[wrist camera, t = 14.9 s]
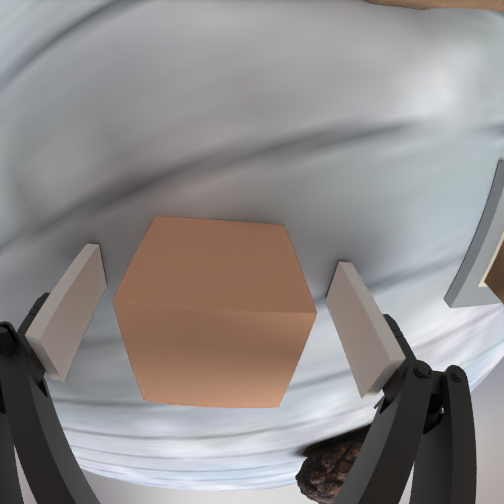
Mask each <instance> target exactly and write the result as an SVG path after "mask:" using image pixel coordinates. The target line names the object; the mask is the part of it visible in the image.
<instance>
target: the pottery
mask: <svg viewBox="0 0 504 504" xmlns="http://www.w3.org/2000/svg"><path fill="white" fill-rule="evenodd" d="M365 1H368V2H371V3H374V4H380V5H391V6H400V7H407V8H414V9H420V10H426V9H430V8H475V9H488V10H497V11H504V0H365Z"/></svg>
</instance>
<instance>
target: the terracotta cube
mask: <svg viewBox="0 0 504 504" xmlns="http://www.w3.org/2000/svg"><path fill="white" fill-rule="evenodd" d="M113 304H114V308H115V312H116V316H117V319H118V323H119V327H120V331H121V334H122V338H123V341H124V344H125V348H126V351H127V354H128V357H129V360H130V364H131V367H132V369H133V372H134V375H135V378H136V381H137V384H138V386H139V389H140V392H141V394H142V397H143V400H146V401H153V402H160V403H169V404H178V405H189V406H203V407H224V408H271V407H279V405H280V403H281V401H282V399H283V397H284V394H285V392H286V390H287V387H288V385H289V383H290V381H291V378H292V376H293V374H294V371H295V369H296V366H297V364H298V362H299V359H300V357H301V354H302V352H303V349H304V347H305V344H306V342H307V339H308V336H309V334H310V331H311V329H312V326H313V323H314V321H315V318H316V315H317V311H316V308H315V305H314V302H313V300H312V297H311V294H310V291H309V289H308V286H307V283H306V280H305V278H304V275H303V272H302V270H301V267H300V264H299V262H298V259H297V256H296V254H295V251H294V249H293V246H292V243H291V241H290V238H289V236H288V233H287V230H286V228H285V225H278V224H267V223H255V222H243V221H230V220H217V219H203V218H188V217H172V216H155V218H154V220H153V221H152V223H151V225H150V227H149V229H148V230H147V232H146V234H145V236H144V238H143V240H142V242H141V243H140V245H139V247H138V249H137V251H136V253H135V255H134V257H133V259H132V261H131V263H130V265H129V267H128V269H127V271H126V273H125V275H124V277H123V279H122V281H121V283H120V285H119V287H118V290H117V292H116V294H115V296H114V298H113Z"/></svg>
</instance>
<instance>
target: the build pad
mask: <svg viewBox="0 0 504 504" xmlns="http://www.w3.org/2000/svg"><path fill="white" fill-rule="evenodd" d="M503 240H504V162H502V161H500V160H499V163H498V167H497V171H496V175H495V178H494V182H493V185H492V188H491V192H490V195H489V198H488V201H487V204H486V207H485V210H484V213H483V215H482V218H481V221H480V223H479V226H478V229H477V231H476V234H475V236H474V239H473V241H472V243H471V246H470V248H469V250H468V252H467V255H466V257H465V259H464V261H463V263H462V265H461V268H460V270H459V272H458V274H457V276H456V278H455V280H454V282H453V283H452V285H451V287H450V289H449V291H448V293H447V295H446V296H445V298H444V301H445V302H446V303H447V304H448V306H449V307H450V308H458V307H469V306H479V305H488V304H497V303H502V302H501V301H500V299H499V298H498V297H497V296H496V295H495V294H494V293H493V292H492V290H491V289H490V288H489V287H488V286H487V285H486V284H485V283H484V280H485V278H486V276H487V274H488V272H489V270H490V268H491V266H492V264H493V262H494V260H495V258H496V256H497V254H498V251H499V249H500V247H501V245H502V242H503Z"/></svg>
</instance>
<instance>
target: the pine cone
mask: <svg viewBox="0 0 504 504" xmlns="http://www.w3.org/2000/svg"><path fill="white" fill-rule="evenodd" d="M370 427H371V425H368V426H365V427H362V428H360V429H357V430H355V431H352V432H350V433H348V434H345V435H343V436H340V437H337V438H335V439H332V440H328V441H326V442H323V443H320V444H318V445H315V446H313V447H310V448H308V449H306V450H305V452H304V453H303V456H305V457H308V458H307V459H306V460H305V461H304V462H303V464H302V467H301V469H300V471H299V473H298V474H297V475H296V477H295V478H296V480H297V484H298V486H299V487H300V490H301V493H302V494H304V495H306V496H307V497H308V498H309V499H311V500H313V501H316V502H318V503H319V504H332V502H333V500H334V499H335V497H336V495H337V494H338V492H339V490H340V488H341V487H342V485H343V483H344V481H345V479H346V478H347V476H348V474H349V472H350V470H351V468H352V466H353V464H354V462H355V460H356V458H357V456H358V454H359V452H360V450H361V447H362V445H363V443H364V441H365V439H366V436H367V434H368V432H369V429H370Z"/></svg>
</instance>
